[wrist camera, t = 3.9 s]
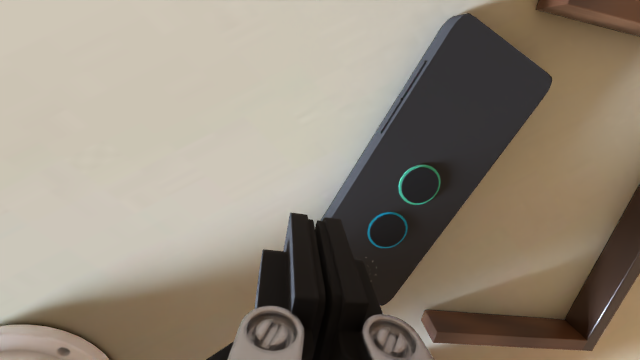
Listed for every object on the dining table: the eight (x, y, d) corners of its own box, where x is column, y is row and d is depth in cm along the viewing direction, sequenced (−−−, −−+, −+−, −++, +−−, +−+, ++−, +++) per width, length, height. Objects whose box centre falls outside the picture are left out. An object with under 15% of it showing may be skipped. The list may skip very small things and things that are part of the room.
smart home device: (295, 272, 24) (463, 6, 19) (294, 258, 25) (449, 10, 20) (387, 309, 26) (560, 81, 21) (381, 294, 28) (540, 79, 23)
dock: (420, 319, 29) (432, 342, 27) (543, -12, 20) (576, -20, 18) (569, 329, 32) (592, 351, 30) (733, 40, 23) (784, 39, 21)
